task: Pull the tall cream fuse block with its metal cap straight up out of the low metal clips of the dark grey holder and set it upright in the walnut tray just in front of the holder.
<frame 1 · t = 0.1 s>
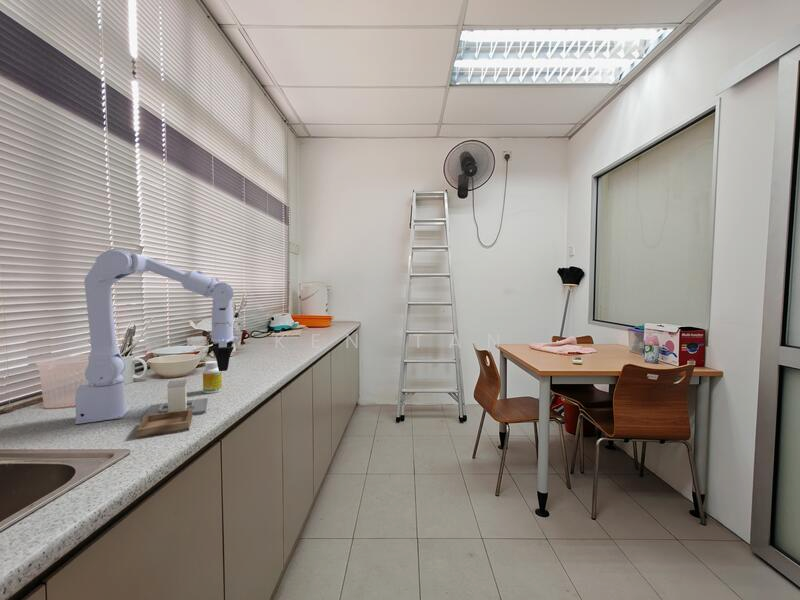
hand: (223, 368, 102), 10 cm above the worktop, tool pointing down, fingers open, 7 cm apart
supplement bottle: (212, 391, 113), on the worktop
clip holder: (177, 410, 95), on the worktop
fuse: (177, 410, 95), resting in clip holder
tray: (166, 426, 84), on the worktop
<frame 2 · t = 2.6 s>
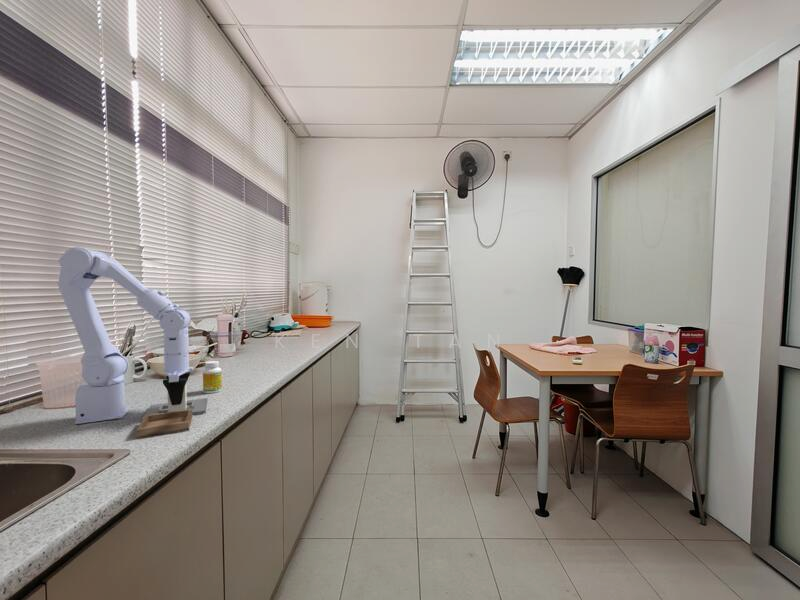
hand: (177, 401, 95), 2 cm above the worktop, tool pointing down, fingers closed on fuse, 4 cm apart
fuse: (177, 410, 95), resting in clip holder, touching gripper
everything else where it was.
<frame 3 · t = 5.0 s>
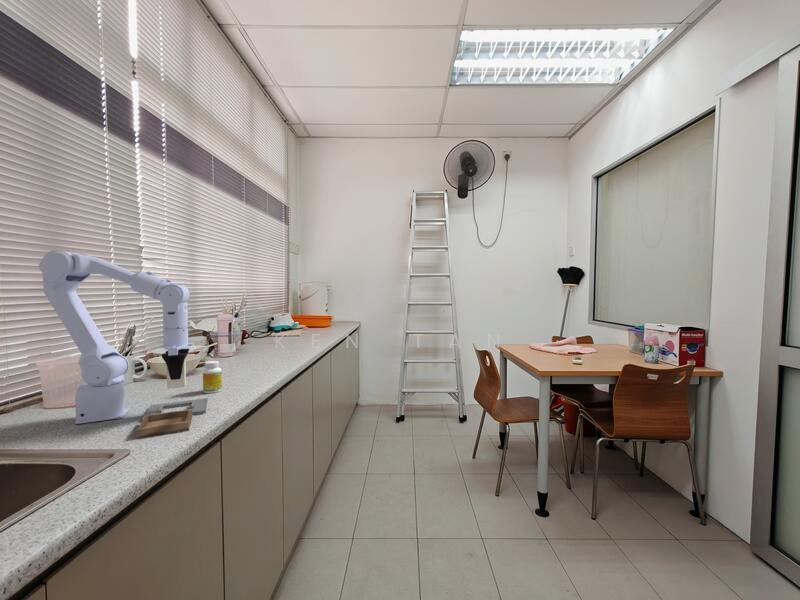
hand: (176, 377, 94), 9 cm above the worktop, tool pointing down, fingers closed on fuse, 4 cm apart
fuse: (176, 386, 94), point 7 cm above the worktop, touching gripper
everything else where it was.
when the fingers open (4 cm above the worktop, at t = 7.6 s): fuse drops 1 cm, resting on tray.
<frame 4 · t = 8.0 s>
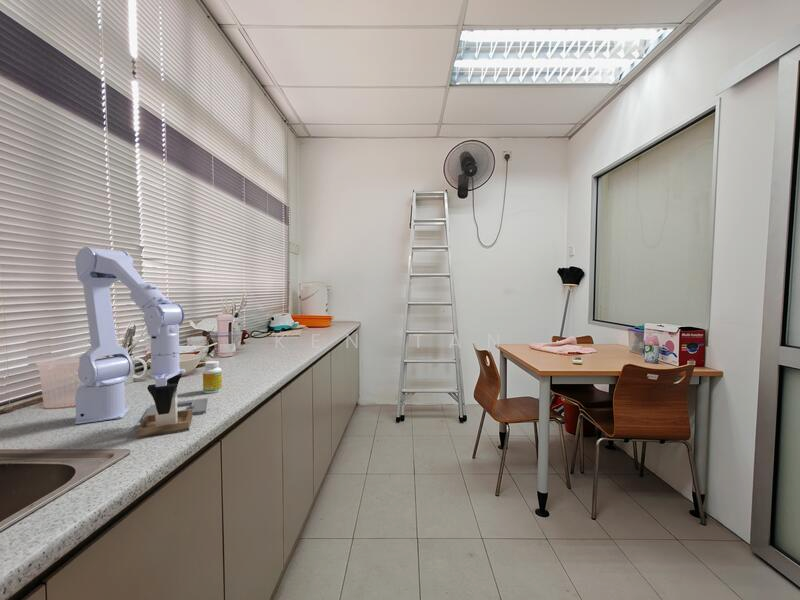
hand: (166, 408, 83), 4 cm above the worktop, tool pointing down, fingers open, 7 cm apart
fuse: (167, 424, 84), resting on tray
everything else where it was.
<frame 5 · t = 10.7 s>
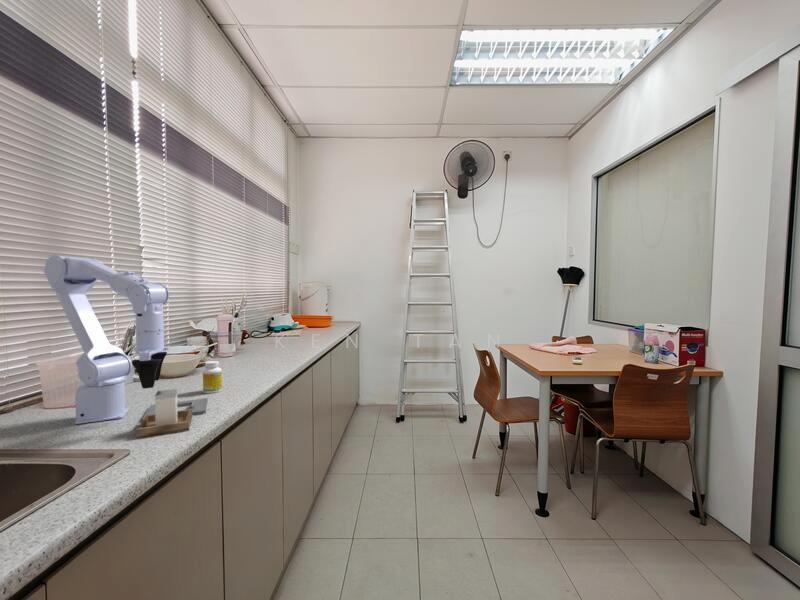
hand: (151, 384, 87), 9 cm above the worktop, tool pointing down, fingers open, 7 cm apart
nothing on the worktop moved.
at the end: fuse 0.1 cm off-centre on the tray, point 0.5 cm above the tray's base; fuse tilted 0°; the gripper is holding nothing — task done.
